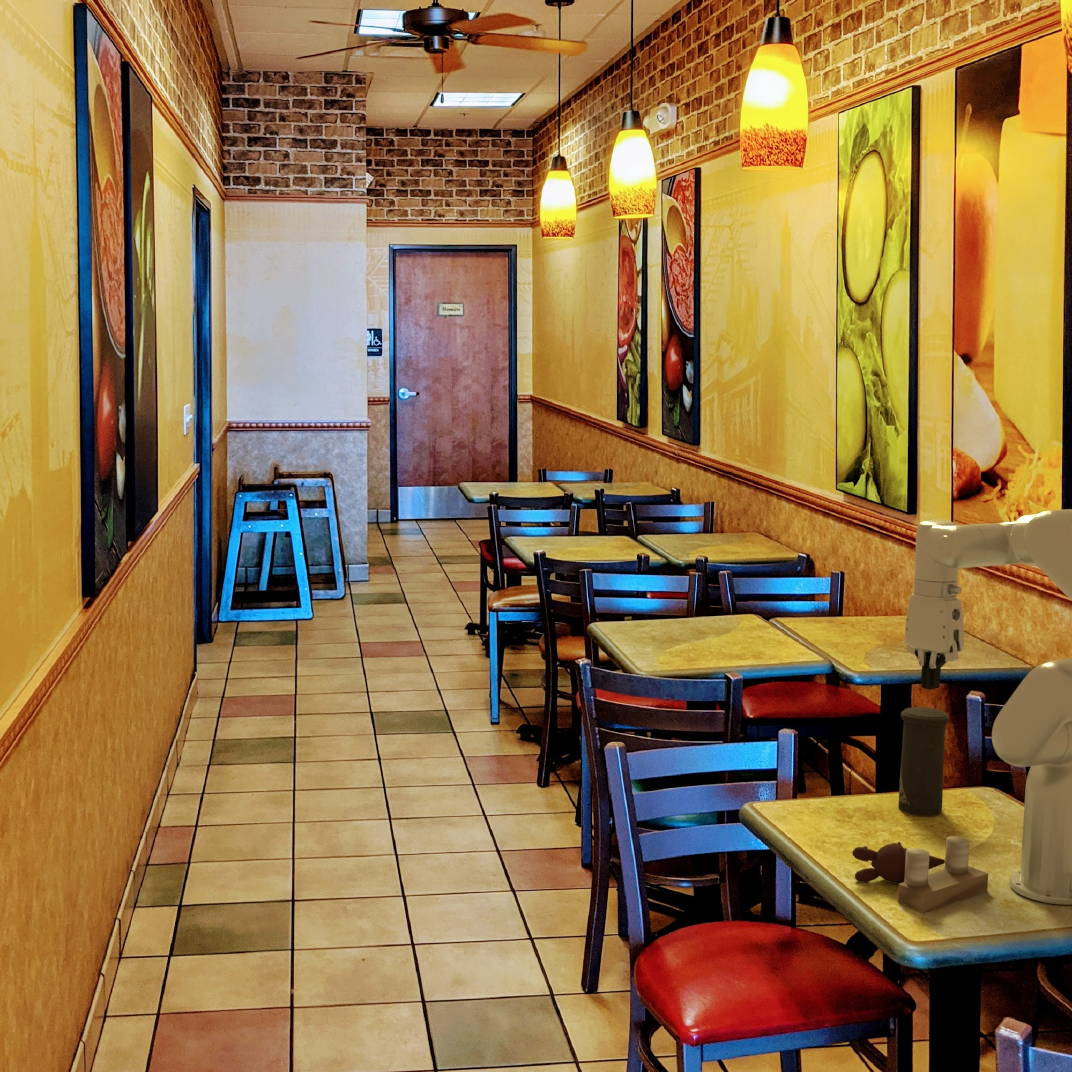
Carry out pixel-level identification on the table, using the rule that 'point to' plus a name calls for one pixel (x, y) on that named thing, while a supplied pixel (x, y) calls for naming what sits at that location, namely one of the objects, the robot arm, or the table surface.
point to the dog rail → (940, 878)
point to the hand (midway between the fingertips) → (930, 687)
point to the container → (922, 761)
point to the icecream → (886, 863)
